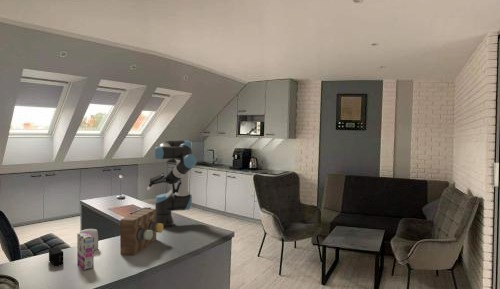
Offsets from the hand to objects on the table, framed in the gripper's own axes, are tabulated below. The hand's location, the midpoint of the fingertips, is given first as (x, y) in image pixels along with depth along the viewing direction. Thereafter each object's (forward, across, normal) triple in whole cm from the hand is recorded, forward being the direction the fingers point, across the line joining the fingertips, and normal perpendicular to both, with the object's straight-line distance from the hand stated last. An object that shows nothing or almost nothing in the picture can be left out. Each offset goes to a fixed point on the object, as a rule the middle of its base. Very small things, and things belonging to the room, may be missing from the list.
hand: (157, 193), depth 201 cm
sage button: (+9, 0, -28) cm, 30 cm away
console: (+22, +2, -25) cm, 34 cm away
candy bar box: (+24, -27, -43) cm, 56 cm away
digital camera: (+37, -37, -37) cm, 64 cm away
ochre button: (+12, +10, -19) cm, 24 cm away
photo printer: (+39, -21, -24) cm, 50 cm away
